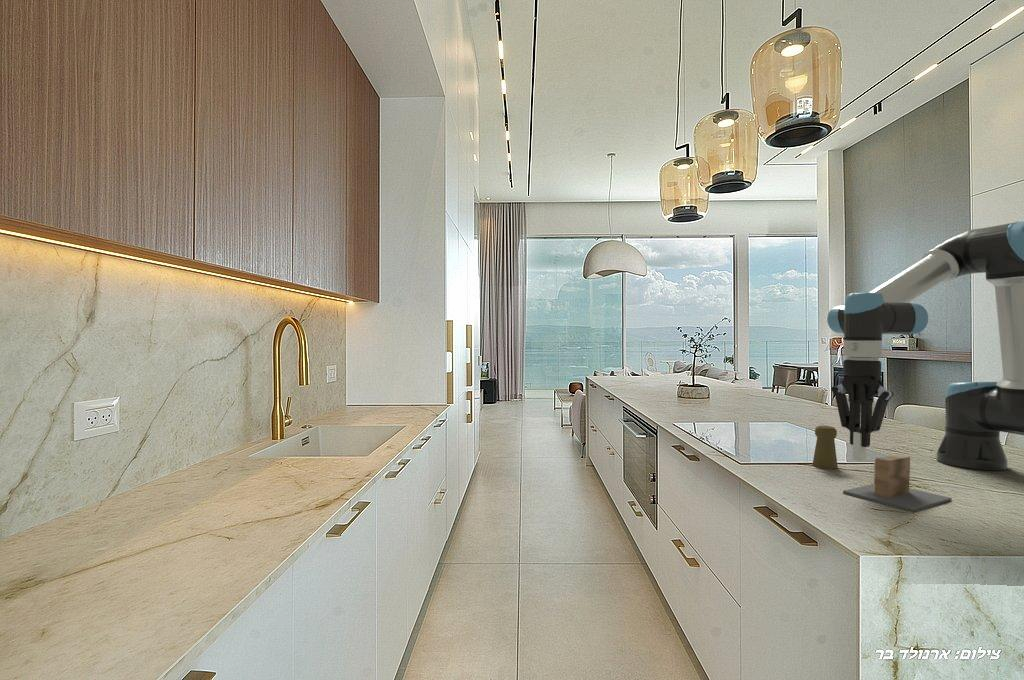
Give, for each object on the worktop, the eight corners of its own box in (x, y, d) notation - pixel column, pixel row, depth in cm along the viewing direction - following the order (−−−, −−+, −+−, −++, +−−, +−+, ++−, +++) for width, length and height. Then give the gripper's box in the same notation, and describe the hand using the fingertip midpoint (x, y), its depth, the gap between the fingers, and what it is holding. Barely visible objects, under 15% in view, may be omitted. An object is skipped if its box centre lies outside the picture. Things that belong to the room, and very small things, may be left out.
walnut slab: (894, 488, 125) (895, 454, 125) (909, 492, 122) (910, 456, 122) (872, 494, 121) (873, 458, 121) (887, 497, 118) (888, 461, 118)
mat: (882, 484, 131) (882, 481, 131) (951, 500, 118) (951, 498, 118) (843, 493, 123) (843, 490, 123) (912, 511, 111) (913, 508, 111)
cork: (813, 467, 146) (814, 426, 146) (810, 462, 152) (811, 423, 152) (839, 470, 144) (840, 428, 144) (835, 464, 150) (836, 424, 150)
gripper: (824, 357, 131) (822, 455, 132) (883, 360, 120) (880, 467, 120) (843, 357, 135) (840, 452, 135) (901, 360, 123) (898, 464, 124)
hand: (859, 459), depth 128 cm, fingers closed
